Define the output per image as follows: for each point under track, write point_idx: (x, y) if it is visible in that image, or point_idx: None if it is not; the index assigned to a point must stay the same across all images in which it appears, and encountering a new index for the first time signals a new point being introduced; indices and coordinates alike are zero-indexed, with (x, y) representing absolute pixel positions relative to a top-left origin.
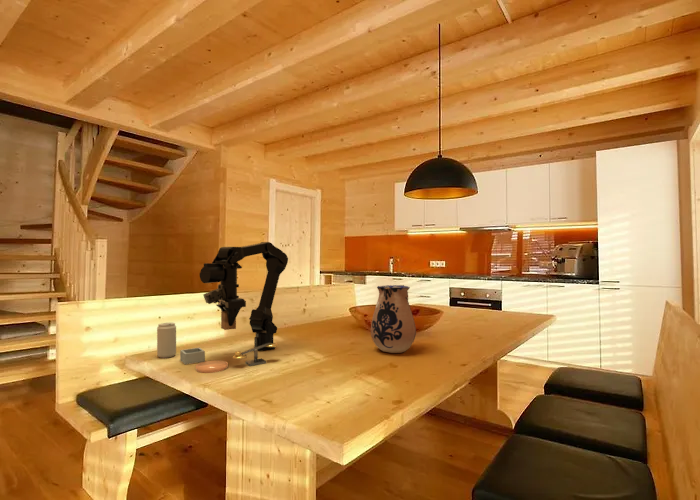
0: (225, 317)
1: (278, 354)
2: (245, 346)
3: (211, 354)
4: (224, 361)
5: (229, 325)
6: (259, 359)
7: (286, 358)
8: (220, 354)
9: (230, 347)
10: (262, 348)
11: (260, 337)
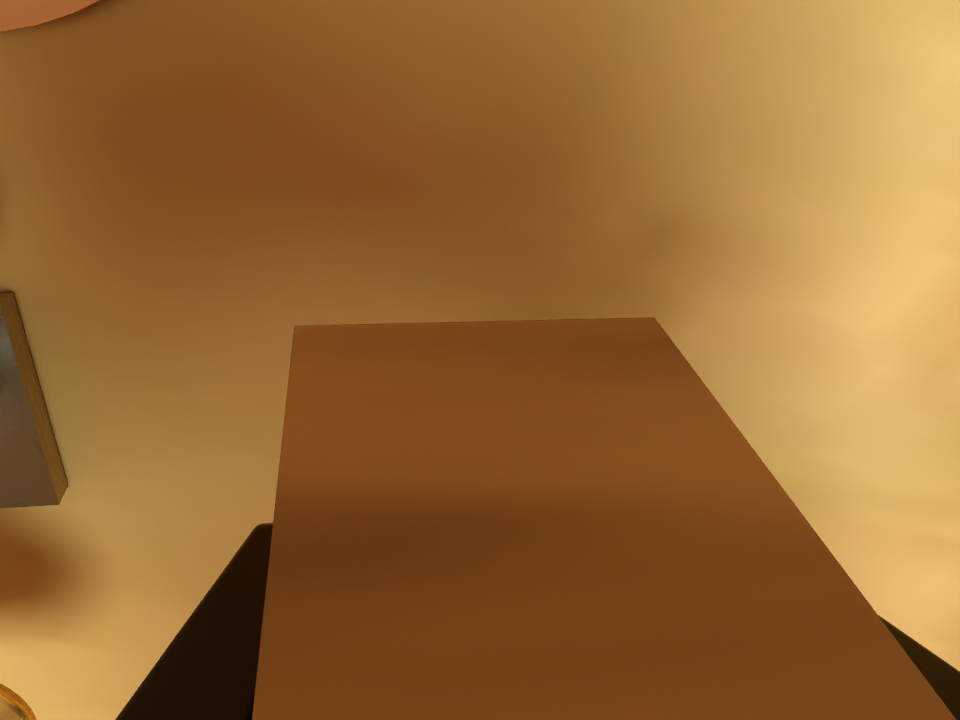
0: (259, 713)
1: None
2: (815, 514)
3: (803, 59)
4: (30, 9)
5: (254, 534)
6: (14, 472)
7: (52, 687)
8: (705, 170)
9: (916, 379)
10: None
11: None
